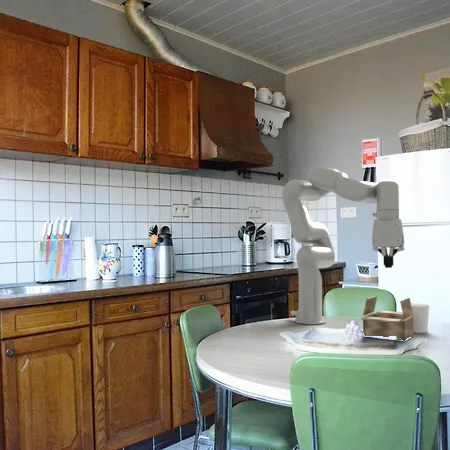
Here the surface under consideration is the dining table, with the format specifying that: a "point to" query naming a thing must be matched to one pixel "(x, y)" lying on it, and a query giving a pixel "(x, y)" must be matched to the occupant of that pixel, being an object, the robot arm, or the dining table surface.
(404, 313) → the flap
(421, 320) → the white cup
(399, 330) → the carton
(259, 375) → the dining table surface
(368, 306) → the flap
